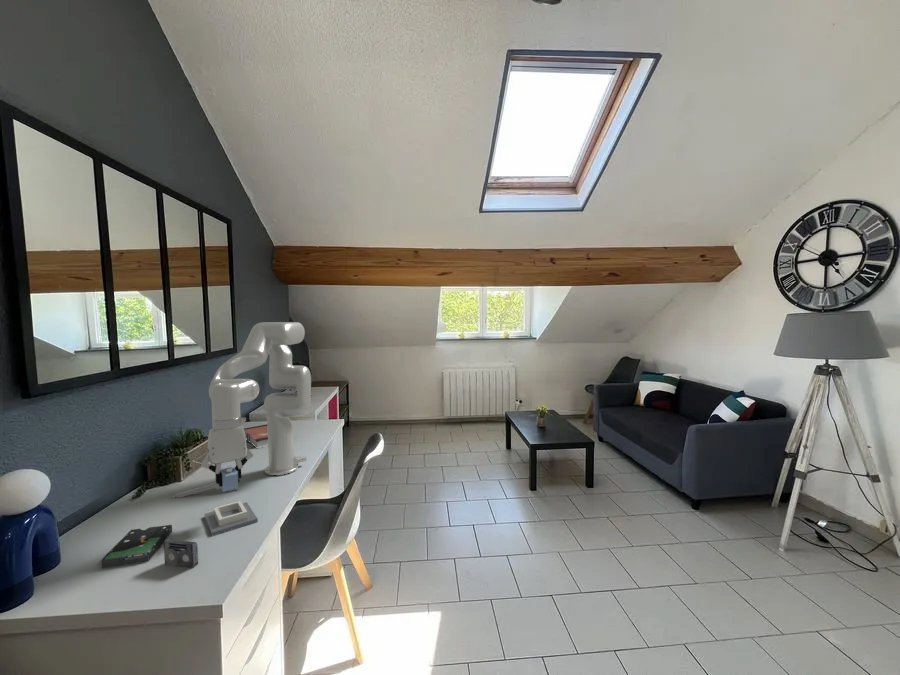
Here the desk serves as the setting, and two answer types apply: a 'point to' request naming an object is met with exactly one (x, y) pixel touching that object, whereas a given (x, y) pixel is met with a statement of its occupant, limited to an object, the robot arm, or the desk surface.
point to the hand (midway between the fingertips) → (228, 482)
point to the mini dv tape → (181, 553)
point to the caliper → (197, 490)
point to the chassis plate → (230, 517)
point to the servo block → (229, 478)
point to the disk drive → (137, 546)
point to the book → (257, 435)
